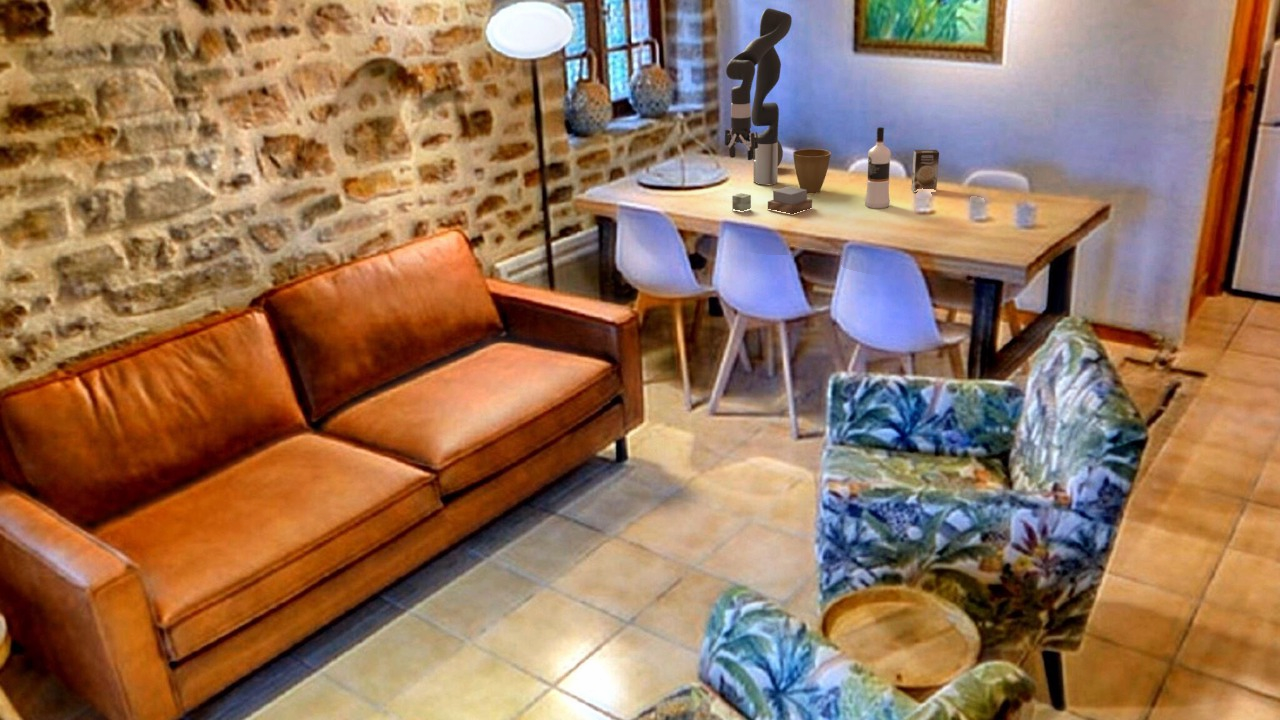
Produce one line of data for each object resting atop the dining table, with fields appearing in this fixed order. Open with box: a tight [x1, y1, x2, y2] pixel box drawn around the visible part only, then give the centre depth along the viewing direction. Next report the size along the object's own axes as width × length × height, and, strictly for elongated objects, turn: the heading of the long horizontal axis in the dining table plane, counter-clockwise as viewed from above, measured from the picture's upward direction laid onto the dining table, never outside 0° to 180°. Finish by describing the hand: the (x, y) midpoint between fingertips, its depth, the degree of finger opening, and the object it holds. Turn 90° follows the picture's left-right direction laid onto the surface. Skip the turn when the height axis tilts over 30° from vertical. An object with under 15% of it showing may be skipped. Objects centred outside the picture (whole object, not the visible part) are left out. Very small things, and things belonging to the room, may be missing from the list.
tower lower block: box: [767, 198, 813, 214], centre depth 409 cm, size 12×12×4 cm
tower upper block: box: [772, 185, 808, 205], centre depth 407 cm, size 9×9×4 cm
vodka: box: [864, 126, 892, 210], centre depth 403 cm, size 9×9×30 cm
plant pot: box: [792, 148, 832, 194], centre depth 430 cm, size 15×15×16 cm
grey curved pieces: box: [752, 140, 784, 167], centre depth 469 cm, size 14×14×15 cm
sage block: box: [731, 192, 752, 211], centre depth 410 cm, size 5×5×6 cm
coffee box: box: [910, 149, 940, 193], centre depth 423 cm, size 9×6×16 cm
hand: (741, 158), depth 403 cm, fingers open, 8 cm apart
